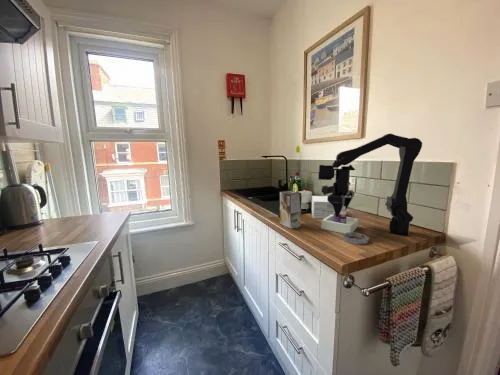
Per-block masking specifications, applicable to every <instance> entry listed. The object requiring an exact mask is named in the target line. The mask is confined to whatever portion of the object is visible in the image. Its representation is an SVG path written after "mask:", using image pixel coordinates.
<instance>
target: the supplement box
mask: <svg viewBox="0 0 500 375" xmlns="http://www.w3.org/2000/svg"><path fill="white" fill-rule="evenodd" d="M328 196H329V195H328ZM328 196H327V195H314V196H312V202H311V215H312V218H313V219H321V220H323V219H325V218H326V217H328V216H329V215H331V214H332V215H334V208H333V205H332V204H331V203H329V201H327V198H328Z"/></svg>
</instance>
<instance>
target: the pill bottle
mask: <svg viewBox="0 0 500 375" xmlns="http://www.w3.org/2000/svg"><path fill="white" fill-rule="evenodd" d="M345 209H346V207H345V206H343V208H342V210H341V212H340V214H339V216H338V217H336V215H335V211H334V222H338V223H343V224H346V220H347V217H348V212H347V209H346V211H345Z"/></svg>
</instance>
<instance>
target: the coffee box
mask: <svg viewBox="0 0 500 375" xmlns="http://www.w3.org/2000/svg"><path fill="white" fill-rule="evenodd" d="M297 192H298V191H292V190H283V191H279V225H282V226H284V227H286V228H288V229H290V230H291V229H297V228H300V227H301V225H302V219H301V218H302V209H301V193H297Z"/></svg>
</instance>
